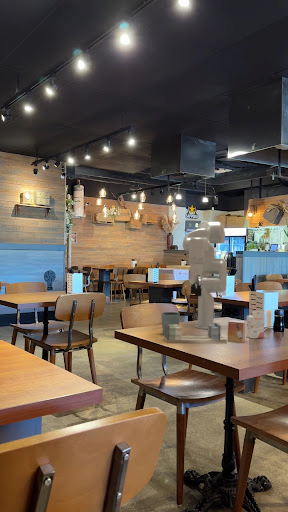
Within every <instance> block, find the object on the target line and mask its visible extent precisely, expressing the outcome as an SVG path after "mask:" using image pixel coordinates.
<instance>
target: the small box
mask: <svg viewBox="0 0 288 512" xmlns="http://www.w3.org/2000/svg"><path fill="white" fill-rule="evenodd" d="M227 323H228V324H227V342H232V343H240V344H243V343H244V342H245V338H246V335H245V334H246V321H245V320H235V319H234V320H233V319H230V320H229V321H227Z"/></svg>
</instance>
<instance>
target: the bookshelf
mask: <svg viewBox="0 0 288 512" xmlns="http://www.w3.org/2000/svg"><path fill="white" fill-rule="evenodd" d="M221 327H222V326H221V325H220V324H218V323H217V322H213V325H208V329H207V335H182V326H180V324H179V325H168V323H165V335H163V339H164V340H165V342H166V343H167V344H205V345H206V344H209V345H210V344H211V345H212V344H214V345H216V344H217V345H219V344H220V345H222V344H225V345H227V343H228V339H226V338H225V337H223V336H222V335H221V330H222V329H221Z"/></svg>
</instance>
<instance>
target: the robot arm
mask: <svg viewBox="0 0 288 512" xmlns="http://www.w3.org/2000/svg"><path fill="white" fill-rule="evenodd" d="M225 239H226V232H225V226H224V225H223V223H222V222H221V221H218V220H217V221H215V220H214V221H213V220H211V221H207V220H206V221H201V222H200V223H199V224H198V226H197V228H196V229H195V230H192V231H190V232H188V233H186V234H185V236H184V238H183V241H182V248H183V250H184V251H185V252H188V254H189V255H188V256H189V257H188V264H189V265H190V266H189V278H188V279H189V280H188V282H189V283H190V295H194V297H198V298H197V300H198V301H197V323H196V324H195V326H194V327H195V328H197V329H200V330H208V325H214V313H215V309H214V308H215V300H214V299H215V298H214V296H213V295H212V294H211V293H225V292H226V289H227V273H228V272H227V271H228V270H227V261H226V259H224V258H215V256H216V255H215V252H216V251H215V248H214V247H213V246H212V245H211V244H218V245H219V244H223V243H224V242H225ZM203 274H205V275H203ZM207 274H209V275H207ZM212 275H213V276H212ZM214 275H218V276H214Z"/></svg>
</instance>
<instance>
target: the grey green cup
mask: <svg viewBox="0 0 288 512" xmlns="http://www.w3.org/2000/svg"><path fill="white" fill-rule="evenodd" d="M180 314H181V313H180V312H176V311H175V312H174V311H165V312H161V314H160V316H161V317H160V318H161V322H162V323H161V328H162V329H161V330H162V336H165V323H168V325H179V326H180V317H181V315H180Z"/></svg>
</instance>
